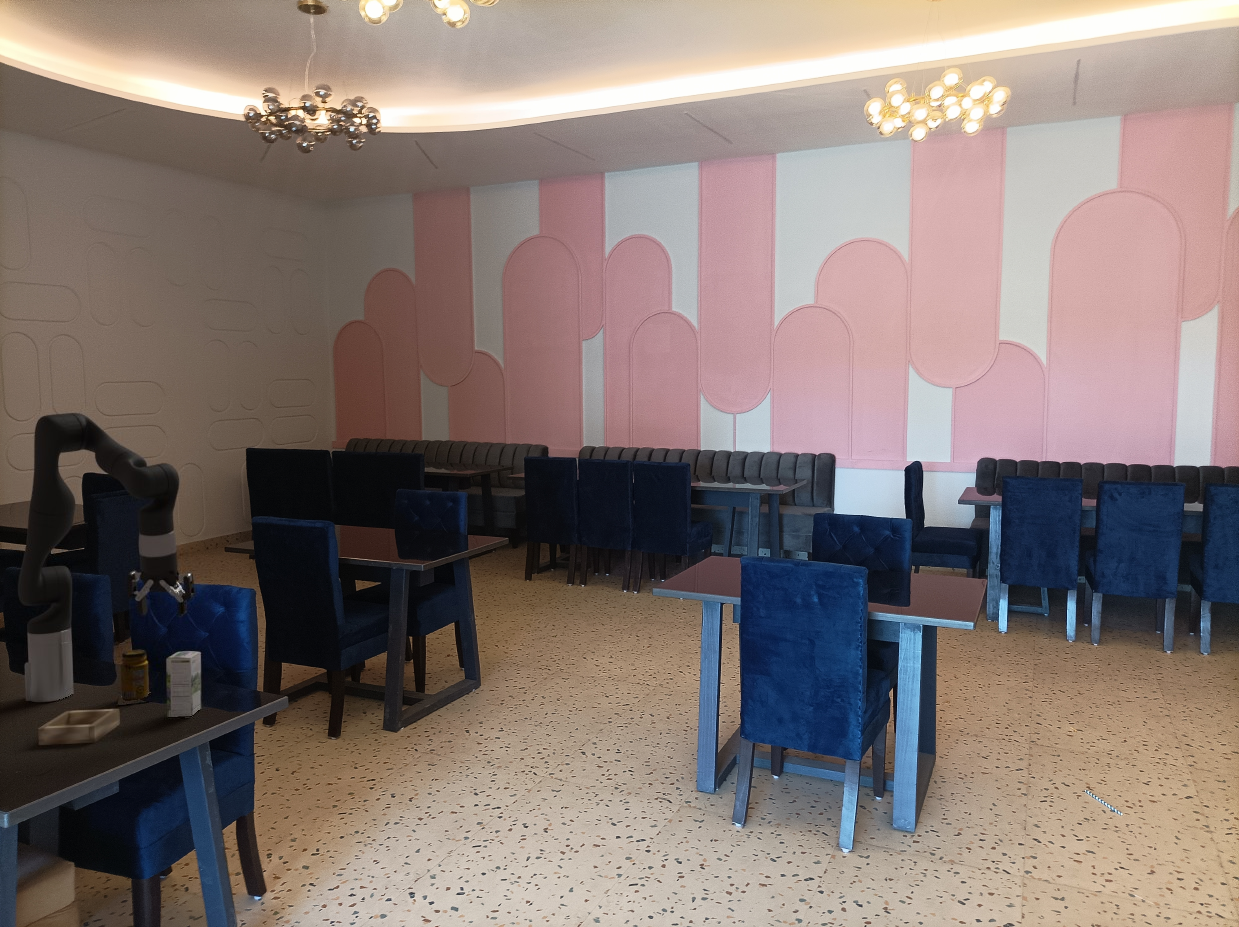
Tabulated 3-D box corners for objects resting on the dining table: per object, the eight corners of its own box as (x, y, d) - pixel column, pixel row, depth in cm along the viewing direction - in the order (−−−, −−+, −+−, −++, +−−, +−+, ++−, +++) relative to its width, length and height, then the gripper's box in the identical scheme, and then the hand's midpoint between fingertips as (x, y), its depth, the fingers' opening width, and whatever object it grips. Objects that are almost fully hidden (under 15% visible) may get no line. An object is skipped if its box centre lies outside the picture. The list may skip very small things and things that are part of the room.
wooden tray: (38, 745, 183) (38, 728, 182) (67, 726, 194) (66, 711, 194) (94, 742, 184) (94, 726, 184) (119, 724, 195) (119, 708, 195)
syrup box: (177, 710, 204) (175, 651, 204) (202, 709, 205) (200, 650, 204) (166, 718, 199) (164, 657, 198) (192, 717, 199) (191, 657, 199)
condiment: (151, 693, 218) (150, 647, 218) (149, 702, 211) (148, 655, 210) (119, 697, 215) (117, 650, 214) (115, 707, 207) (114, 658, 207)
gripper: (117, 554, 190) (123, 620, 194) (183, 556, 191) (187, 622, 195) (133, 542, 197) (138, 607, 201) (196, 545, 199) (200, 608, 203)
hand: (162, 614), depth 198 cm, fingers open, 8 cm apart
